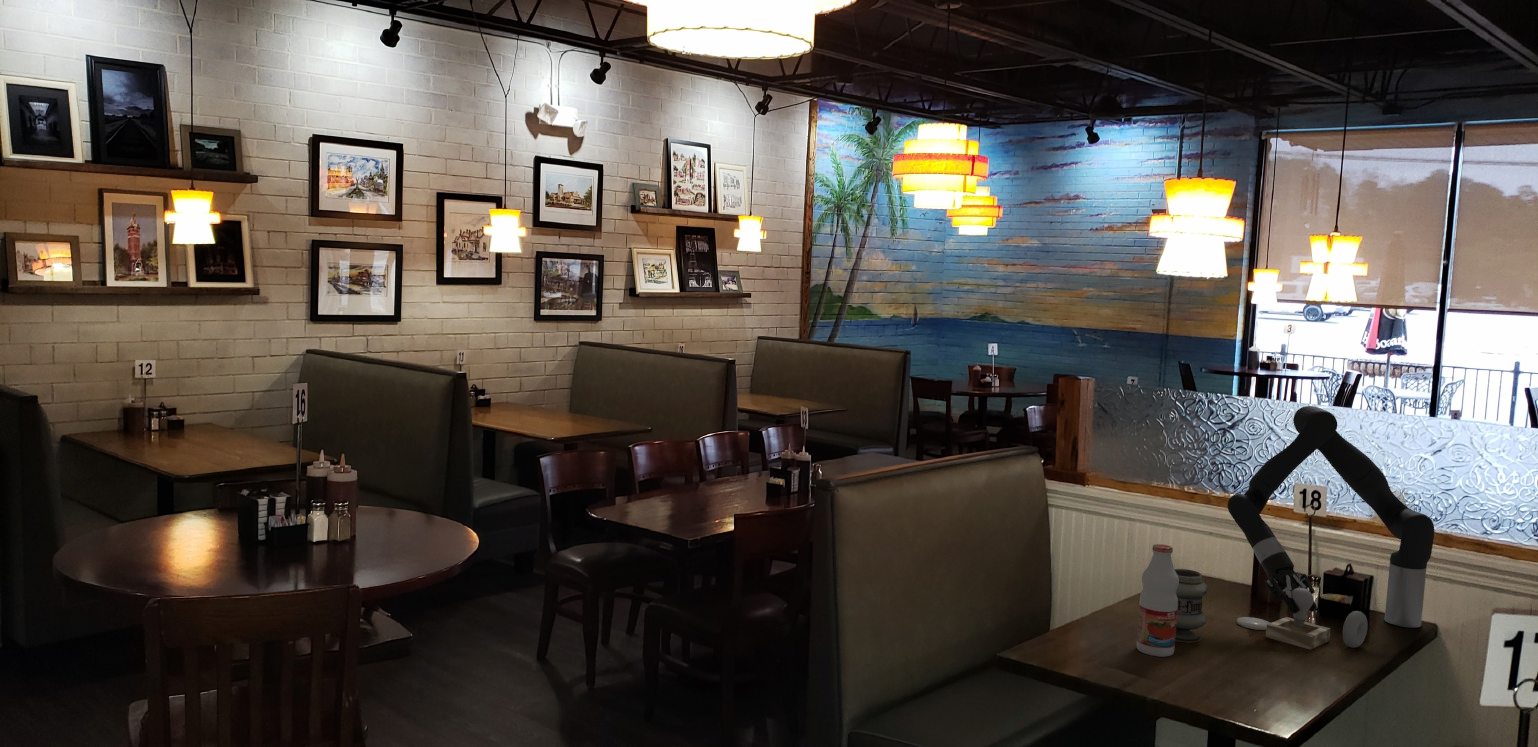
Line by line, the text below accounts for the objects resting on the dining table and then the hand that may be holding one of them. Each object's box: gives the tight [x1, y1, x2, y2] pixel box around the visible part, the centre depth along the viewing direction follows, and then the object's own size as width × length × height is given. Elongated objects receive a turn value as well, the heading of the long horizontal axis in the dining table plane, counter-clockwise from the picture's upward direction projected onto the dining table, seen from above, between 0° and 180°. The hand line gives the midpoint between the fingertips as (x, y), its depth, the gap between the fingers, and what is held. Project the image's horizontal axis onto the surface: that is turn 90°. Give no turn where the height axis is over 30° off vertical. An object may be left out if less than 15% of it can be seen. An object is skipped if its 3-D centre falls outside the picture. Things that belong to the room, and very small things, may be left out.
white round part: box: [1236, 616, 1271, 631], centre depth 305 cm, size 9×9×1 cm
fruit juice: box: [1136, 543, 1179, 658], centre depth 279 cm, size 9×9×28 cm
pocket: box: [1265, 616, 1331, 651], centre depth 294 cm, size 12×12×4 cm
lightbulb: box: [1291, 587, 1315, 627], centre depth 294 cm, size 6×6×11 cm
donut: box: [1342, 610, 1369, 649], centre depth 289 cm, size 10×4×10 cm, turn 129°
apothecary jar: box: [1174, 568, 1209, 644], centre depth 292 cm, size 12×12×18 cm
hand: (1305, 610), depth 292 cm, fingers closed on lightbulb, 6 cm apart
